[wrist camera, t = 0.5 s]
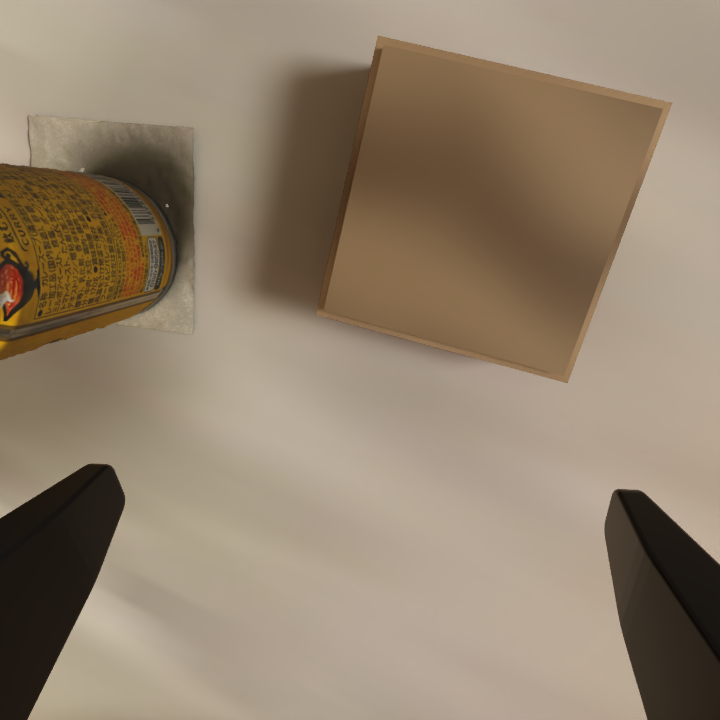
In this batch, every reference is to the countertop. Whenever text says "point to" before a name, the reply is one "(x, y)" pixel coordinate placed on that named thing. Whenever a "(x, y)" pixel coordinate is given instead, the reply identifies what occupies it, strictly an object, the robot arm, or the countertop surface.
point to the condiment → (96, 232)
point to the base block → (485, 205)
